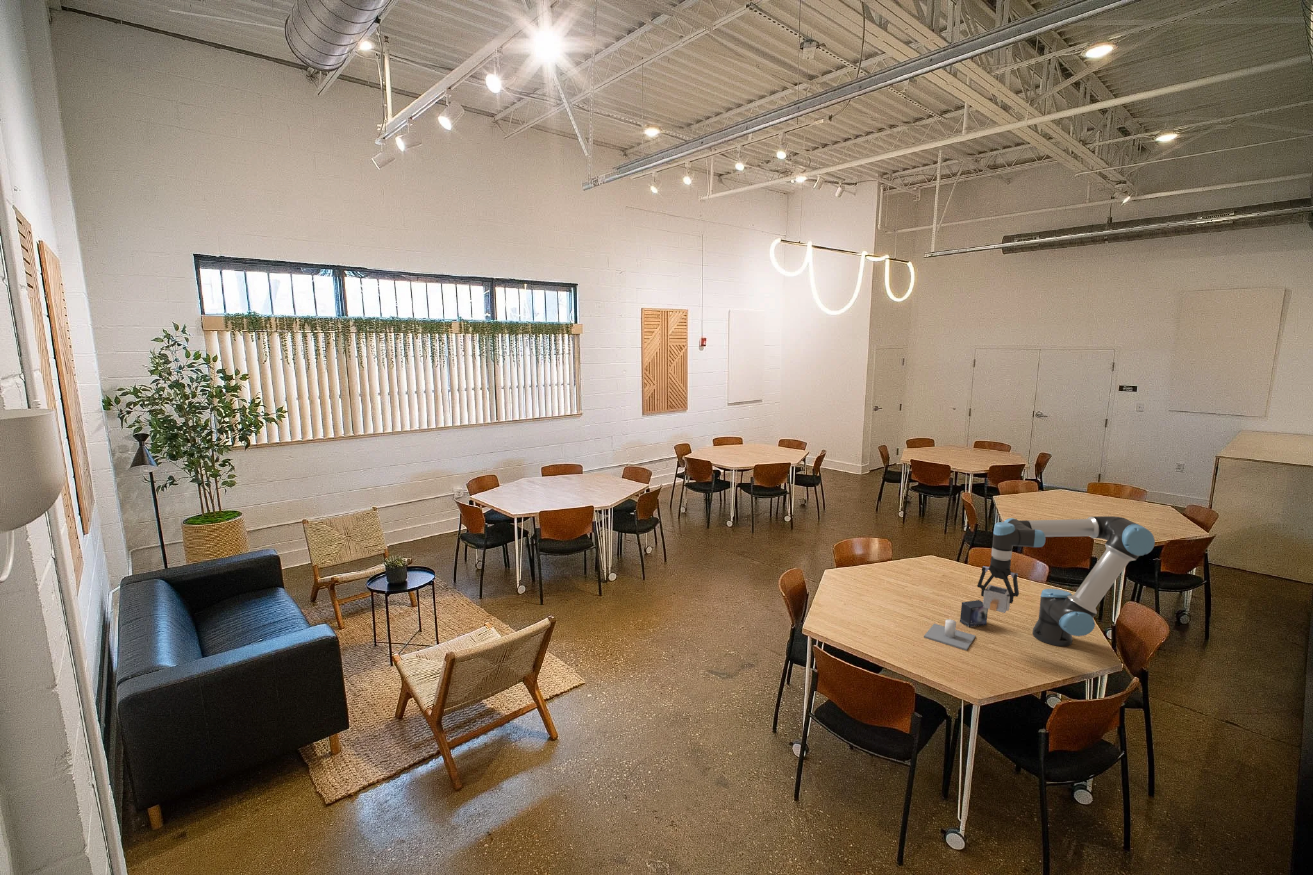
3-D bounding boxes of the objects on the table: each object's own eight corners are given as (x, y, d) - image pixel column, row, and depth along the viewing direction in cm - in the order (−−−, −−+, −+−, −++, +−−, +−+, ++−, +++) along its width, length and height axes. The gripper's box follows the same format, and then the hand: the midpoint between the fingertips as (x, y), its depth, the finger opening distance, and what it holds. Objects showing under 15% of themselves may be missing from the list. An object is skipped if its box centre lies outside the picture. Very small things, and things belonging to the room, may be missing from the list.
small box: (969, 628, 275) (971, 607, 273) (959, 622, 281) (960, 601, 279) (987, 625, 278) (989, 604, 276) (976, 619, 284) (978, 599, 282)
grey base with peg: (975, 637, 266) (976, 621, 265) (966, 650, 254) (967, 634, 253) (934, 624, 278) (935, 609, 277) (923, 637, 266) (924, 621, 265)
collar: (1008, 606, 255) (1010, 589, 253) (1003, 615, 246) (1005, 598, 245) (987, 601, 260) (989, 584, 259) (981, 609, 251) (983, 592, 250)
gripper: (1031, 561, 246) (1025, 610, 250) (976, 549, 260) (971, 596, 264) (1028, 566, 241) (1022, 616, 244) (972, 554, 254) (967, 602, 258)
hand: (995, 606), depth 254 cm, fingers closed on collar, 8 cm apart
